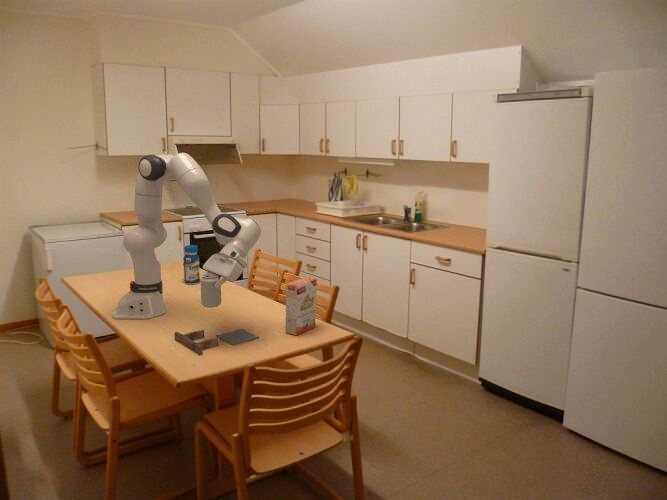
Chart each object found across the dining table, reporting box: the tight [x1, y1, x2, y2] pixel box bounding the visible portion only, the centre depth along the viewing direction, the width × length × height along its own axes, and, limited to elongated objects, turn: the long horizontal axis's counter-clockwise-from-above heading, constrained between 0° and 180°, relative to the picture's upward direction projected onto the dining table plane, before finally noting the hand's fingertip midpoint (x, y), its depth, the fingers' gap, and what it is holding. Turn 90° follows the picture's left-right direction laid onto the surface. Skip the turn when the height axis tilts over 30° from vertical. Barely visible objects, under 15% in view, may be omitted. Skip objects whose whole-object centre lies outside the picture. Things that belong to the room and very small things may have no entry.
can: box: [200, 273, 222, 309], centre depth 213 cm, size 8×8×12 cm
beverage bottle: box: [182, 244, 201, 286], centre depth 299 cm, size 8×8×20 cm
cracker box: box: [285, 276, 318, 336], centre depth 231 cm, size 14×6×21 cm, turn 148°
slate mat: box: [215, 328, 260, 346], centre depth 223 cm, size 12×12×1 cm
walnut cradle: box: [174, 329, 220, 356], centre depth 215 cm, size 10×20×3 cm, turn 41°
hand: (209, 284), depth 213 cm, fingers closed on can, 7 cm apart
